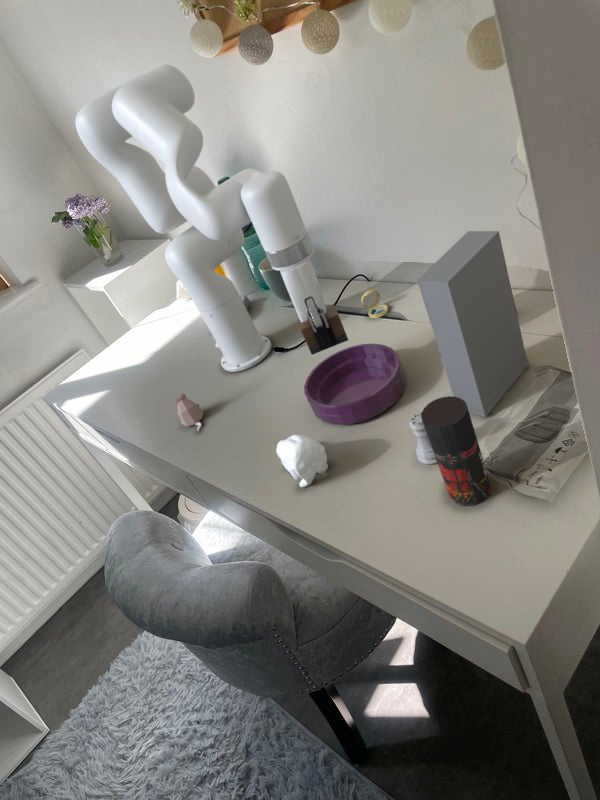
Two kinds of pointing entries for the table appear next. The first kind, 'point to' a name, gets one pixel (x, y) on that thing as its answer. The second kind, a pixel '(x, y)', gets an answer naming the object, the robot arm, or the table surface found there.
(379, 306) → the eyeshadow
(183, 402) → the mouse figurine
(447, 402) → the deodorant
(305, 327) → the brown rectangular block
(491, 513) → the table surface
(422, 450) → the rook chess piece
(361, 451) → the table surface
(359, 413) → the bowl
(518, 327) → the upright grey slab
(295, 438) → the white lumpy piece
